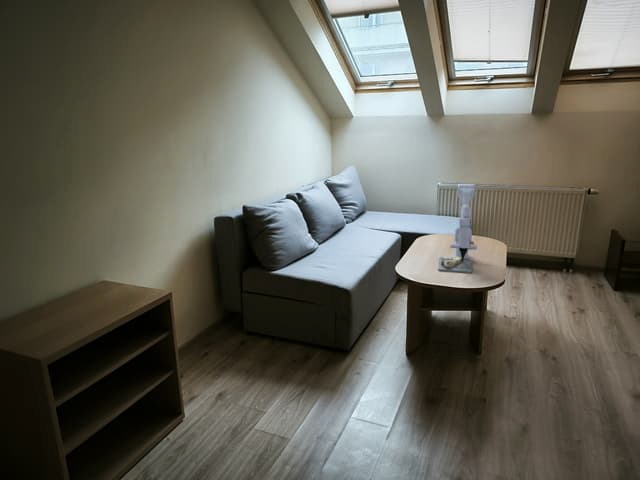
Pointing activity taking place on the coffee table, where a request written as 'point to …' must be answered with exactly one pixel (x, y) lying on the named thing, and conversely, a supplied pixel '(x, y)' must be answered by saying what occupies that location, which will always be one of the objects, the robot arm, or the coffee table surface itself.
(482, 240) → the coffee table surface
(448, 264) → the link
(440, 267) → the board
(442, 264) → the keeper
